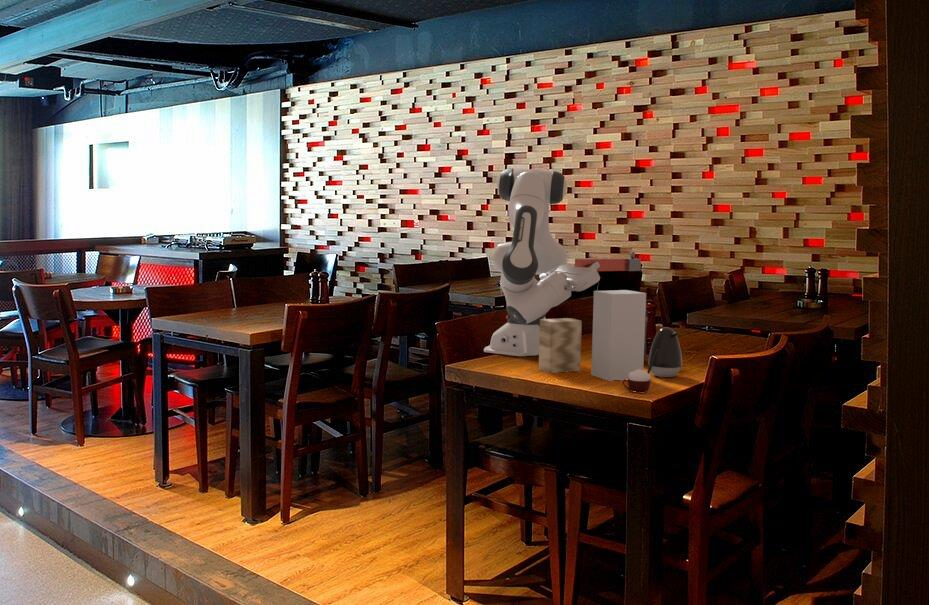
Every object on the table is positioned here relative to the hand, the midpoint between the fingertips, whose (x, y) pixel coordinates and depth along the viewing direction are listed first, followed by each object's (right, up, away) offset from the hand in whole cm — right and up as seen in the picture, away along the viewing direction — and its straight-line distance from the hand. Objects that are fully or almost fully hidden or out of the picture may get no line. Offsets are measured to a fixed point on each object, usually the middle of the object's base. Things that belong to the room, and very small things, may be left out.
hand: (593, 263), depth 255 cm
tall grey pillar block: (+8, -34, +8) cm, 36 cm away
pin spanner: (+4, -2, +2) cm, 5 cm away
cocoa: (+11, -37, -13) cm, 41 cm away
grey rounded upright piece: (+23, -35, +10) cm, 43 cm away
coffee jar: (+18, -32, +36) cm, 51 cm away
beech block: (-8, -33, +17) cm, 38 cm away
